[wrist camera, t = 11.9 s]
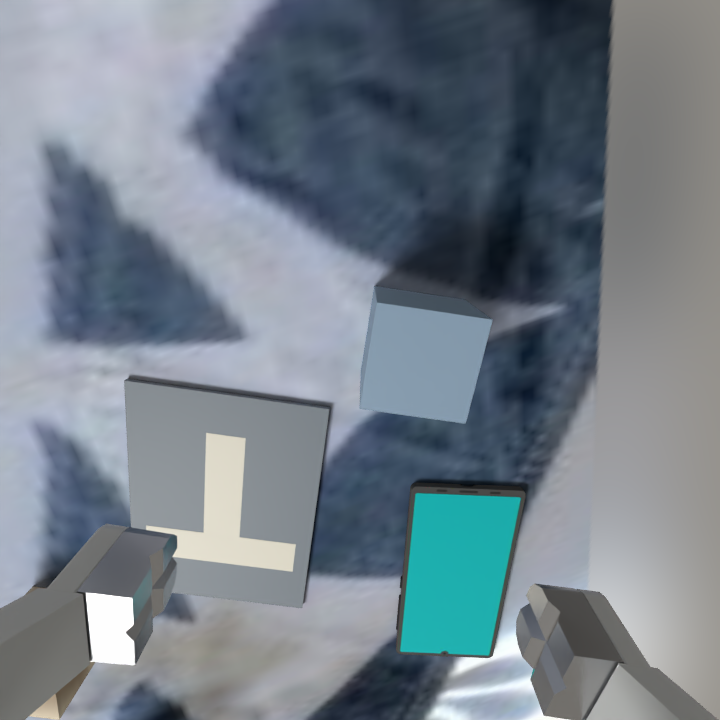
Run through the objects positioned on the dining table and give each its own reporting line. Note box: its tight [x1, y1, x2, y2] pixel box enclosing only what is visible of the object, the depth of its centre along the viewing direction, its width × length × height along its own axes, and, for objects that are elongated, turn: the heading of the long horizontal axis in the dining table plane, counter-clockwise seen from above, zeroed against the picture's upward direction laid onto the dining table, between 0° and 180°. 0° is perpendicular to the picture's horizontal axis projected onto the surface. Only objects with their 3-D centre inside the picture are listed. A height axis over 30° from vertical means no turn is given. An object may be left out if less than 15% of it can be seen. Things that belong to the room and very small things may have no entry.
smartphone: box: [396, 483, 526, 658], centre depth 28 cm, size 7×1×15 cm
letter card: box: [124, 379, 330, 608], centre depth 26 cm, size 16×12×1 cm
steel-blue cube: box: [360, 286, 493, 424], centre depth 20 cm, size 5×5×5 cm
